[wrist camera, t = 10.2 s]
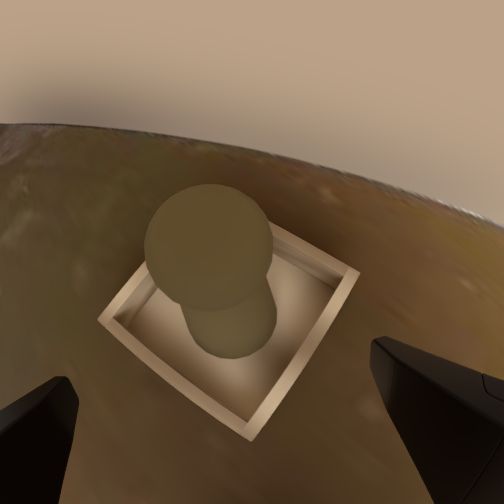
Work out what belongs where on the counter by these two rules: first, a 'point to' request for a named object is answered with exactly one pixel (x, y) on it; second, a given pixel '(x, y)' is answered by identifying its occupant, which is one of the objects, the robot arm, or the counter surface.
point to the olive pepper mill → (215, 267)
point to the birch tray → (246, 368)
